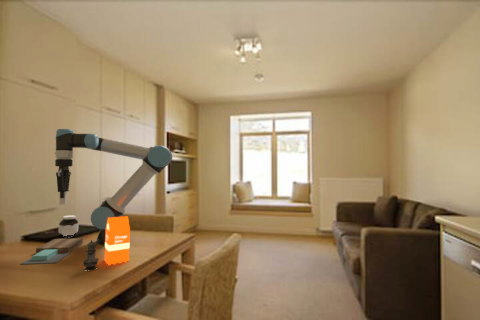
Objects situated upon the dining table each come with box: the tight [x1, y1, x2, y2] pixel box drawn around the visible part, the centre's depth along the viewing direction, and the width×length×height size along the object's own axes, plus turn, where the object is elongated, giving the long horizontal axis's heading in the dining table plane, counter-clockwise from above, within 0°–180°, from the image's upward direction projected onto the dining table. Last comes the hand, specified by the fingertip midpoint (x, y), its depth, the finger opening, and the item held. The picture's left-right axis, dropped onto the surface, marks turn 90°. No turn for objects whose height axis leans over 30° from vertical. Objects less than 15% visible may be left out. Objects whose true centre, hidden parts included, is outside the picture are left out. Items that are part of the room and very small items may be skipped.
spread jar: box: [58, 214, 80, 237], centre depth 168 cm, size 12×11×12 cm
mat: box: [20, 252, 71, 266], centre depth 125 cm, size 14×14×1 cm
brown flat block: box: [35, 237, 84, 254], centre depth 141 cm, size 14×18×3 cm
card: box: [31, 249, 58, 261], centre depth 127 cm, size 6×10×2 cm, turn 10°
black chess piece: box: [82, 239, 99, 272], centre depth 114 cm, size 6×6×12 cm
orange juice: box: [104, 215, 131, 266], centre depth 125 cm, size 8×9×20 cm
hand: (62, 204), depth 141 cm, fingers closed
